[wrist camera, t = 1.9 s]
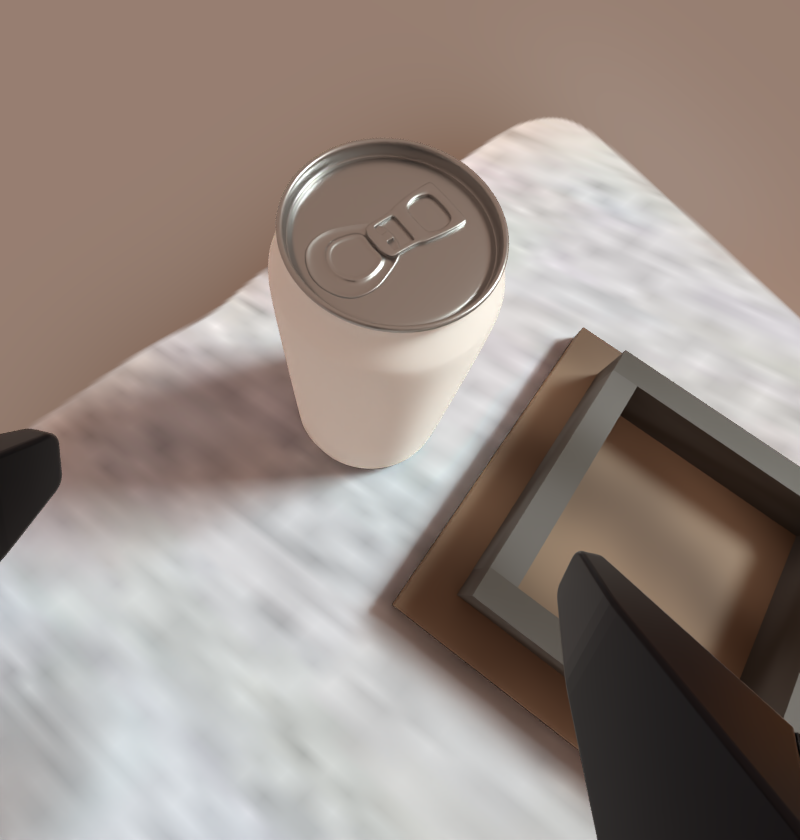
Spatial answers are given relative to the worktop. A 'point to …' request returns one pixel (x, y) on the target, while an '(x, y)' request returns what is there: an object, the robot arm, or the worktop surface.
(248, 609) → the worktop surface
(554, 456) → the socket
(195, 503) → the worktop surface
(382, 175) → the can
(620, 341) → the worktop surface
